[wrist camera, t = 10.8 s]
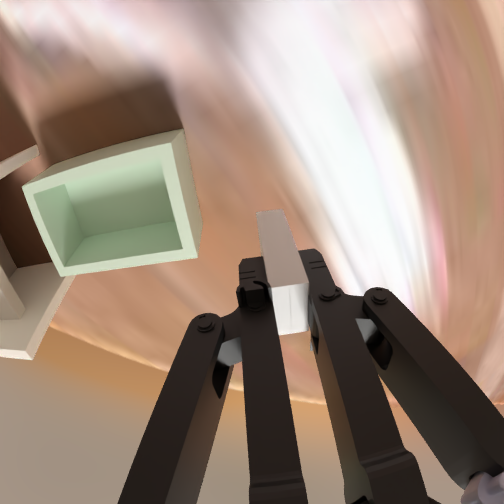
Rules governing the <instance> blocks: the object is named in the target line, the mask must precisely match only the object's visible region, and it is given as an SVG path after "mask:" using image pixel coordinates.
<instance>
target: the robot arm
mask: <svg viewBox="0 0 504 504" xmlns="http://www.w3.org/2000/svg"><path fill="white" fill-rule="evenodd" d="M256 216H257V225H258V233H259V241H260V249H261V257H254V258H246V259H242V261H241V263H240V264H239V283H240V285H239V286H238V287H237V290H236V294H237V299H238V304H239V307H238V308H237V309H236V310H235V311H234V312H232V313H231V314H229V315H226V316H224V317H221V318H220V317H219V316H218V315H216V314H213V313H204V314H201V315H198V316H196V317H195V318H194V319H192V321H191V322H190V324H189V326H188V328H187V331H186V333H185V335H184V338H183V340H182V342H181V345H180V347H179V349H178V352H177V354H176V356H175V359H174V361H173V364H172V366H171V368H170V371H169V373H168V376H167V378H166V381H165V383H164V385H163V388H162V390H161V393H160V395H159V397H158V400H157V402H156V405H155V407H154V410H153V412H152V415H151V417H150V420H149V422H148V425H147V427H146V430H145V433H144V435H143V437H142V440H141V443H140V445H139V448H138V450H137V453H136V456H135V458H134V461H133V463H132V466H131V469H130V471H129V474H128V477H127V480H126V482H125V485H124V488H123V490H122V493H121V495H120V498H119V501H118V504H196V503H197V500H198V496H199V492H200V489H201V485H202V482H203V478H204V475H205V471H206V467H207V463H208V460H209V456H210V453H211V449H212V446H213V441H214V438H215V435H216V431H217V427H218V423H219V420H220V416H221V412H222V409H223V405H224V401H225V397H226V393H227V390H228V386H229V382H230V379H231V375H232V371H233V367H234V364H236V363H239V362H241V361H242V367H243V383H244V398H245V414H246V428H247V443H248V457H249V470H250V486H249V504H308V500H307V493H306V488H305V483H304V479H303V476H302V471H301V464H300V458H299V452H298V446H297V440H296V434H295V428H294V422H293V415H292V409H291V404H290V398H289V392H288V386H287V380H286V374H285V368H284V363H283V357H282V351H281V345H280V340H279V335H284V334H291V333H298V332H304V331H309V327H310V330H311V343H310V351H314V355H315V359H316V362H317V366H318V370H319V374H320V378H321V382H322V386H323V390H324V395H325V399H326V403H327V407H328V411H329V415H330V419H331V423H332V428H333V432H334V437H335V441H336V445H337V450H338V455H339V459H340V464H341V468H342V473H343V478H344V495H345V502H346V504H441V503H439V502H437V501H435V500H434V499H432V498H430V497H428V496H427V492H426V489H425V485H424V482H423V479H422V475H421V472H420V469H419V466H418V463H417V460H416V458H415V456H414V455H413V454H412V453H411V452H409V451H407V450H406V449H405V448H404V446H403V443H402V440H401V437H400V434H399V431H398V428H397V425H396V422H395V419H394V416H393V414H392V411H391V408H390V405H389V402H388V400H387V397H386V394H385V391H384V389H383V386H382V383H381V381H380V378H379V376H380V377H381V379H382V380H383V382H384V383H385V384H386V386H387V387H388V389H389V390H390V391H391V393H392V394H393V396H394V397H395V398H396V400H397V401H398V403H399V404H400V405H401V407H402V408H403V410H404V411H405V413H406V414H407V415H408V417H409V418H410V420H411V421H412V423H413V424H414V425H415V427H416V428H417V430H418V431H419V433H420V434H421V436H422V437H423V438H424V440H425V441H426V443H427V444H428V446H429V447H430V449H431V450H432V452H433V453H434V455H435V456H436V458H437V459H438V460H439V462H440V463H441V465H442V466H443V468H444V469H445V471H446V472H447V473H448V475H449V476H450V477H451V479H452V480H453V481H455V483H456V484H457V485H459V486H460V487H461V488H462V489H464V490H465V491H464V494H463V495H462V498H461V503H462V504H504V418H503V416H502V415H501V414H500V413H499V411H498V410H497V409H496V407H495V406H494V405H493V404H492V402H491V401H490V400H489V399H488V397H487V396H486V395H485V394H484V393H483V391H482V390H481V389H480V388H479V387H478V385H477V384H476V383H475V382H474V381H473V379H472V378H471V377H470V376H469V375H468V374H467V372H466V371H465V370H464V369H463V368H462V367H461V365H460V364H459V363H458V362H457V361H456V360H455V359H454V358H453V356H452V355H451V354H450V353H449V352H448V351H447V350H446V349H445V348H444V346H443V345H442V344H441V343H440V342H439V341H438V340H437V339H436V338H435V337H434V336H433V334H432V333H431V332H430V331H429V330H428V329H427V328H426V327H425V326H424V325H423V324H422V323H421V322H420V321H419V320H418V319H417V318H416V316H415V315H414V314H413V313H412V312H411V311H410V310H409V309H408V308H407V307H406V306H405V305H404V304H403V303H402V302H401V301H400V300H399V299H398V298H397V297H396V296H395V295H394V294H393V293H392V292H390V291H389V290H388V289H385V288H380V287H375V288H370V289H369V290H367V291H366V292H365V294H364V296H352V295H347V294H344V292H343V291H342V289H341V288H339V287H337V286H336V285H335V283H334V281H333V279H332V276H331V274H330V272H329V270H328V268H327V265H326V263H325V262H324V259H323V257H322V254H321V253H320V252H318V251H317V250H316V249H307V250H300V251H298V249H297V247H296V244H295V241H294V238H293V236H292V233H291V230H290V227H289V225H288V222H287V219H286V217H285V214H284V211H283V209H278V210H270V211H262V212H256ZM378 375H379V376H378Z"/></svg>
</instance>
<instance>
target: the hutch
mask: <svg viewBox="0 0 504 504" xmlns="http://www.w3.org/2000/svg"><path fill="white" fill-rule="evenodd" d="M39 155H40V153H39V150H38V146H37V144H36V145H34V146H32V147H30V148H28V149H25V150H23V151H21V152H19V153H17V154H15V155H13V156H11V157H9V158H7V159H5V160H3V161H1V162H0V179H2V178H3V177H5V176H6V175H8V174H9V173H11V172H12V171H14V170H16V169H17V168H19V167H20V166H22V165H24V164H25V163H27V162H29V161H30V160H32V159H34V158H35V157H37V156H39ZM75 277H76V275H71V276H63V277H60V275H59V273H58V271H57V269H56V267H55V265H54V263H53V262H49V263H43V264H38V265H32V266H27V267H22V268H17V267H16V265H15V264H14V262H13V260H12V258H11V256H10V254H9V252H8V250H7V248H6V245H5V243H4V241H3V239H2V237H1V235H0V357H8V358H17V359H28V360H33V358H34V356H35V354H36V351H37V349H38V347H39V345H40V343H41V341H42V339H43V336H44V334H45V332H46V330H47V328H48V326H49V324H50V322H51V320H52V318H53V316H54V315H55V313H56V311H57V309H58V307H59V305H60V303H61V301H62V300H63V298H64V296H65V294H66V292H67V290H68V289H69V287H70V285H71V283H72V282H73V280H74V278H75Z"/></svg>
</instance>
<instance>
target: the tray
mask: <svg viewBox="0 0 504 504" xmlns="http://www.w3.org/2000/svg"><path fill="white" fill-rule="evenodd" d="M22 189H23V192H24V195H25V197H26V200H27V203H28V205H29V208H30V211H31V213H32V216H33V218H34V221H35V223H36V225H37V228H38V230H39V232H40V235H41V237H42V239H43V242H44V244H45V246H46V248H47V250H48V252H49V254H50V257H51V259H52V261H53V263H54V265H55V267H56V269H57V271H58V273H59V275H60V277H63V276H71V275H78V274H85V273H92V272H99V271H106V270H113V269H120V268H127V267H135V266H142V265H149V264H156V263H163V262H170V261H178V260H185V259H192V258H198V253H199V246H200V239H201V233H202V226H203V221H202V217H201V212H200V207H199V203H198V198H197V193H196V189H195V184H194V179H193V174H192V169H191V164H190V159H189V154H188V149H187V144H186V138H185V133H184V128H183V129H178V130H173V131H168V132H163V133H159V134H155V135H150V136H146V137H142V138H138V139H134V140H130V141H126V142H123V143H119V144H115V145H112V146H108V147H105V148H101V149H98V150H95V151H92V152H88V153H85V154H82V155H79V156H76V157H73V158H70V159H67V160H64V161H62V162H59V163H56V164H54V165H52V166H51V167H49V168H48V169H46V170H45V171H43V172H42V173H40V174H39V175H37V176H36V177H34V178H33V179H32V180H30V181H29V182H27V183H26V184H25V185H23V186H22Z"/></svg>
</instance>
